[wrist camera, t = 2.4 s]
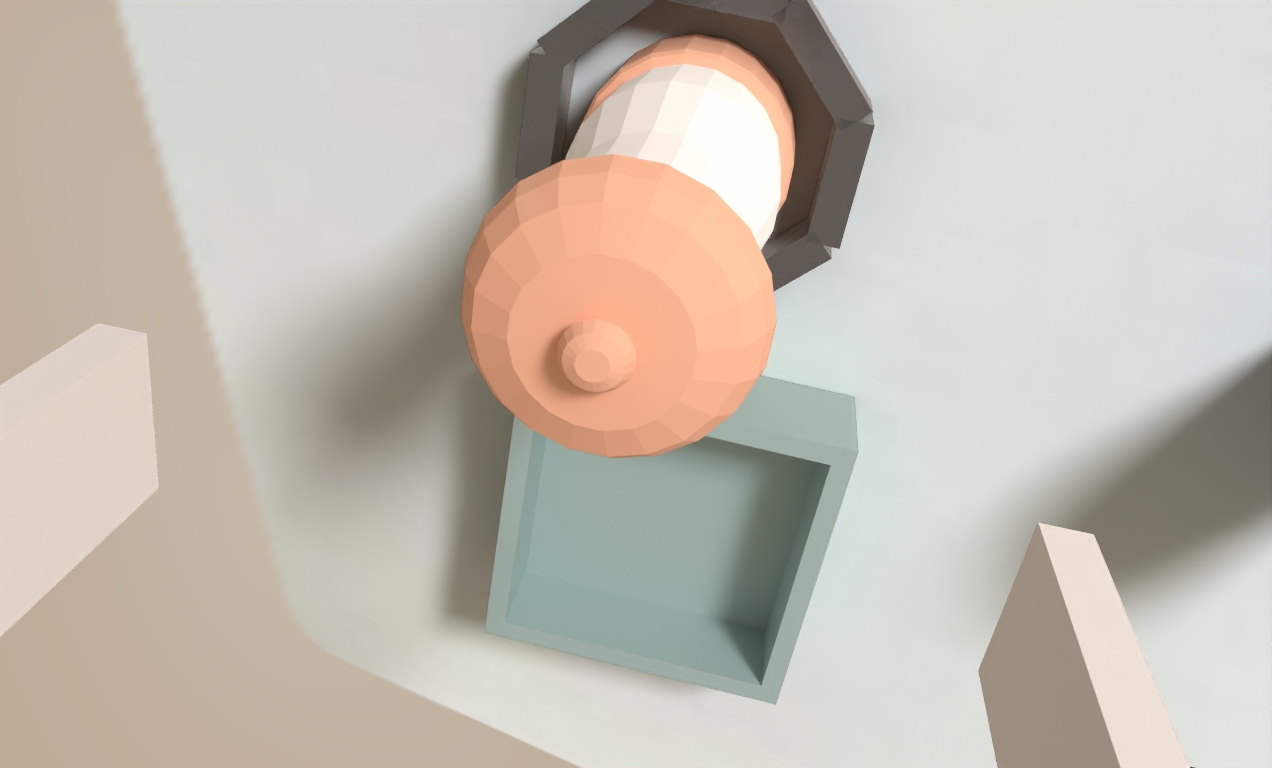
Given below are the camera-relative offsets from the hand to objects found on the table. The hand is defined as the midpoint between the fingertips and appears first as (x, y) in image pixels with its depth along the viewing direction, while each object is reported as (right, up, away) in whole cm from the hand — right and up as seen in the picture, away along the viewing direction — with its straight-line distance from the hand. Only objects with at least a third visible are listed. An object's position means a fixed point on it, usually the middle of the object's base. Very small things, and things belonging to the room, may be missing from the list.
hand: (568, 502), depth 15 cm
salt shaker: (+3, +11, +22) cm, 25 cm away
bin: (+2, -3, +29) cm, 29 cm away
